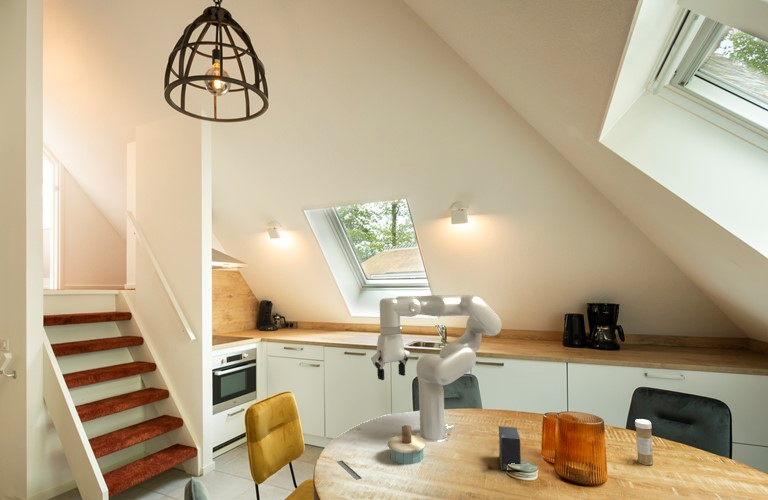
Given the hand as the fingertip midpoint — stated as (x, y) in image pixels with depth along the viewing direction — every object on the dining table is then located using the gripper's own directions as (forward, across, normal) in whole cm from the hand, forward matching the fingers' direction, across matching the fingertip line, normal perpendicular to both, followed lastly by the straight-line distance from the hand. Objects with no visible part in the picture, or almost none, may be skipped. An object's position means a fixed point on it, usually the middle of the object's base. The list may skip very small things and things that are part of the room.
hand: (391, 377), depth 157 cm
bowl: (+25, +4, +12) cm, 28 cm away
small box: (+26, -21, +36) cm, 49 cm away
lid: (+20, +3, +12) cm, 24 cm away
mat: (+25, +17, +8) cm, 31 cm away
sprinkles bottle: (+26, -57, +62) cm, 88 cm away
